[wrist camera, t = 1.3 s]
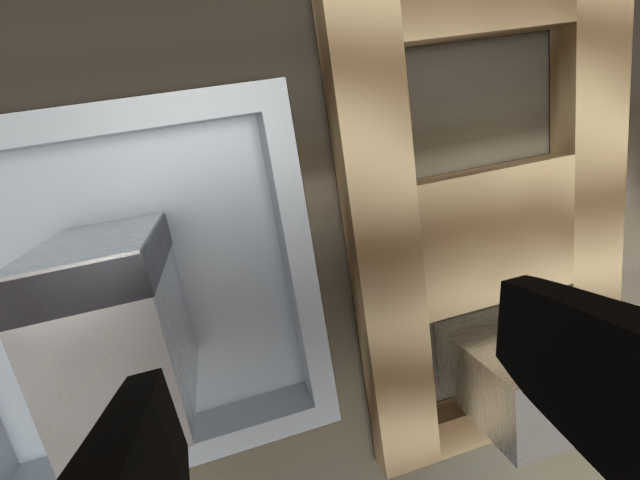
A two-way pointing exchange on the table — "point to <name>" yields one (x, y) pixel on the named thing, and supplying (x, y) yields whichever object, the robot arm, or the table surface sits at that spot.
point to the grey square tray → (186, 248)
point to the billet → (492, 389)
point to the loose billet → (96, 326)
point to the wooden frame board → (466, 193)
